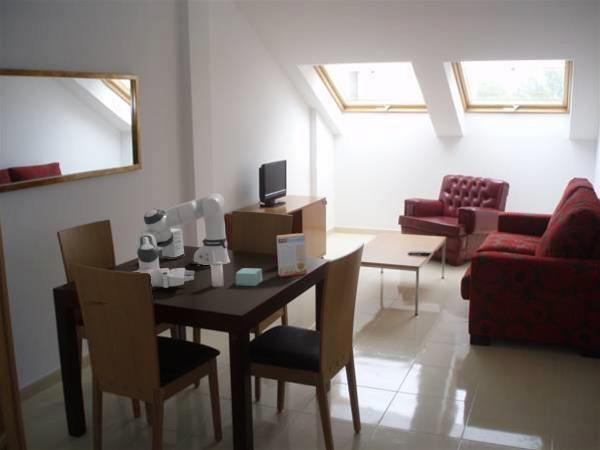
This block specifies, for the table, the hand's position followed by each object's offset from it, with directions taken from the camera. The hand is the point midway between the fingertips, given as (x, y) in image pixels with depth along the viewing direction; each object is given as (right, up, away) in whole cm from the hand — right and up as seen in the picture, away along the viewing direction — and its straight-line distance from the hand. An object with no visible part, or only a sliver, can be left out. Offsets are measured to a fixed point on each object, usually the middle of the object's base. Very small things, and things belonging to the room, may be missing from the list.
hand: (194, 275), depth 325 cm
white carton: (-23, +5, +67) cm, 71 cm away
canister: (+11, -5, +2) cm, 13 cm away
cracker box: (+48, -1, +18) cm, 51 cm away
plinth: (+27, -4, +5) cm, 27 cm away
